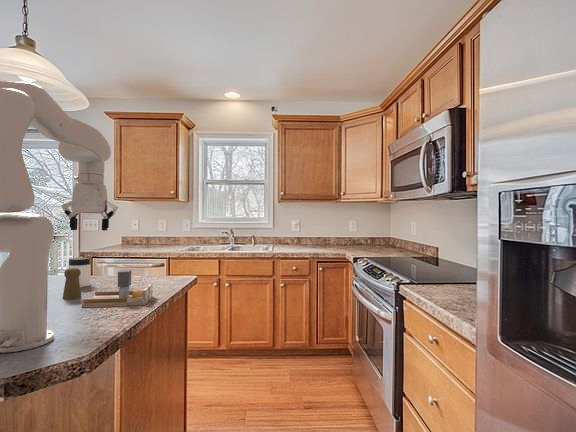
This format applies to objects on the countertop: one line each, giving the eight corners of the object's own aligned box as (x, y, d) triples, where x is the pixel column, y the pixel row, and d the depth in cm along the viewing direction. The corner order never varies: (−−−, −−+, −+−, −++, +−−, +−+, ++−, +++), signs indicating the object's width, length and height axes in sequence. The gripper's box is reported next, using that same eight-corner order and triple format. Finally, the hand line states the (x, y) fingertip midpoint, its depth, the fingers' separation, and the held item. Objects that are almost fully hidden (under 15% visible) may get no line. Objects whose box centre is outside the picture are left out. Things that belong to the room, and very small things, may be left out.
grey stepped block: (126, 299, 119) (127, 272, 119) (115, 299, 118) (116, 272, 118) (132, 294, 126) (132, 269, 126) (121, 294, 125) (122, 269, 125)
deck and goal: (144, 305, 117) (144, 291, 117) (81, 307, 113) (81, 292, 113) (152, 296, 131) (153, 283, 131) (97, 297, 127) (97, 284, 127)
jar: (81, 283, 152) (82, 256, 152) (95, 284, 149) (95, 257, 149) (62, 286, 144) (63, 259, 144) (76, 288, 141) (76, 260, 141)
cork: (72, 299, 122) (72, 269, 122) (58, 298, 124) (58, 269, 124) (85, 296, 128) (85, 267, 128) (71, 295, 130) (72, 266, 130)
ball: (131, 290, 121) (129, 301, 120) (143, 292, 121) (140, 303, 121) (134, 287, 125) (132, 298, 124) (145, 289, 125) (143, 300, 125)
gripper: (58, 177, 110) (55, 229, 109) (114, 179, 112) (112, 230, 112) (69, 181, 117) (67, 229, 116) (121, 182, 120) (120, 230, 119)
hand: (89, 230), depth 114 cm, fingers open, 9 cm apart
